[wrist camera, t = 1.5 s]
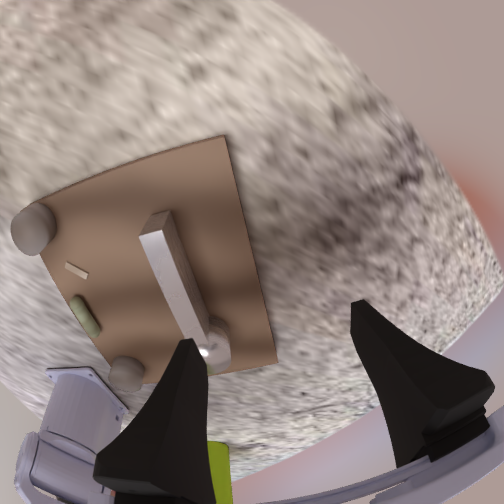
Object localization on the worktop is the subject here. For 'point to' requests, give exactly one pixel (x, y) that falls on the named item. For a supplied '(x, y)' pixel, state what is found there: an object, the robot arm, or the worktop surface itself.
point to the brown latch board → (137, 264)
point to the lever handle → (184, 291)
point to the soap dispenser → (220, 472)
